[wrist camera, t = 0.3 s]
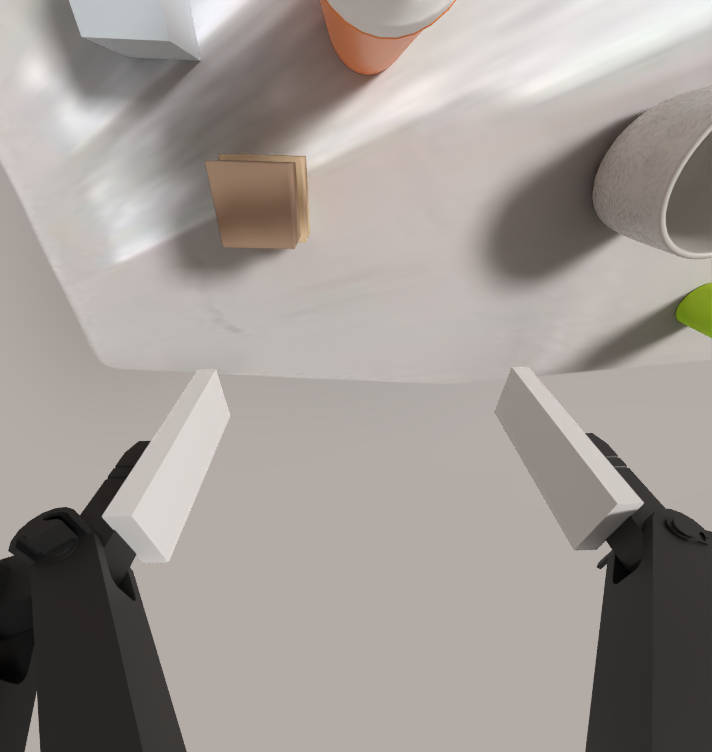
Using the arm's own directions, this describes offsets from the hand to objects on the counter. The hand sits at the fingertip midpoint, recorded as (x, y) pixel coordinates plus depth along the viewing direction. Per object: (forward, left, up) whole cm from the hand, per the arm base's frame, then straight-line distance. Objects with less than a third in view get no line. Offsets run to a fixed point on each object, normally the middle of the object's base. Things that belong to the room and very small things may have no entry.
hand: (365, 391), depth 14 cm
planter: (-8, +30, -27) cm, 41 cm away
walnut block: (-5, -8, -22) cm, 24 cm away
